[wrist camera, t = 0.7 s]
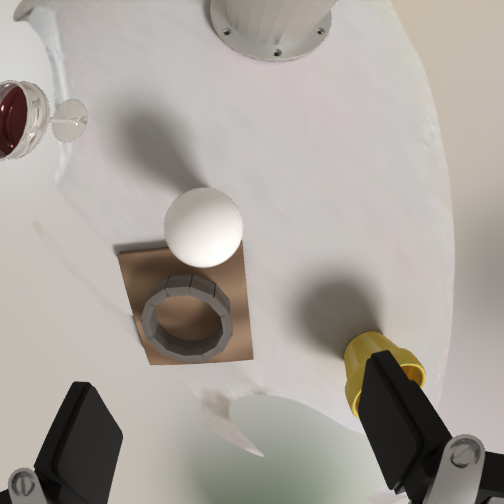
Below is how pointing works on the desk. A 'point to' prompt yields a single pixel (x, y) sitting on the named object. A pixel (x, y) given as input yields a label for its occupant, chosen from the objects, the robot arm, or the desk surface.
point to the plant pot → (362, 351)
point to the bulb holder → (188, 307)
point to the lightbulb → (203, 227)
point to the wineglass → (34, 119)
